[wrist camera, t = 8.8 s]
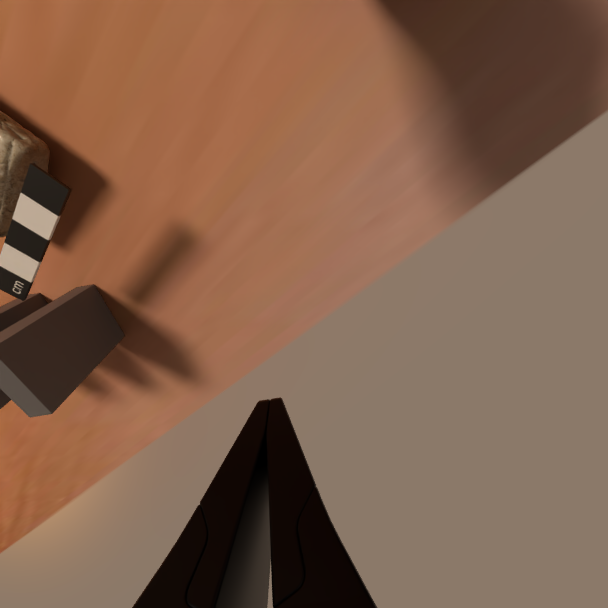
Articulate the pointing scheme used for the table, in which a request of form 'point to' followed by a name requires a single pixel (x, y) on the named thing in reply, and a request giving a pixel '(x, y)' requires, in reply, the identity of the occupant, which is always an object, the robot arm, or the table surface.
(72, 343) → the domino
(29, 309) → the domino
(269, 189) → the table surface
